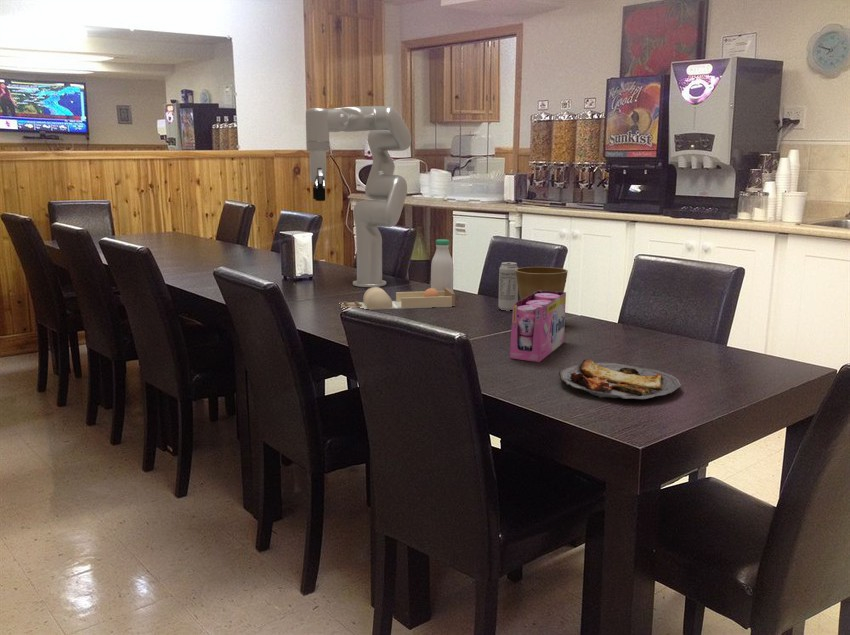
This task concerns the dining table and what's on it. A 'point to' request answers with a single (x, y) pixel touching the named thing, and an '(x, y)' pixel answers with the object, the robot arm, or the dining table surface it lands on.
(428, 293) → the ball
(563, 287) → the plant pot
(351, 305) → the tee
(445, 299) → the lane
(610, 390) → the food plate
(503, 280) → the energy drink can
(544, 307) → the gum box
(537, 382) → the dining table surface
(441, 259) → the milk bottle
